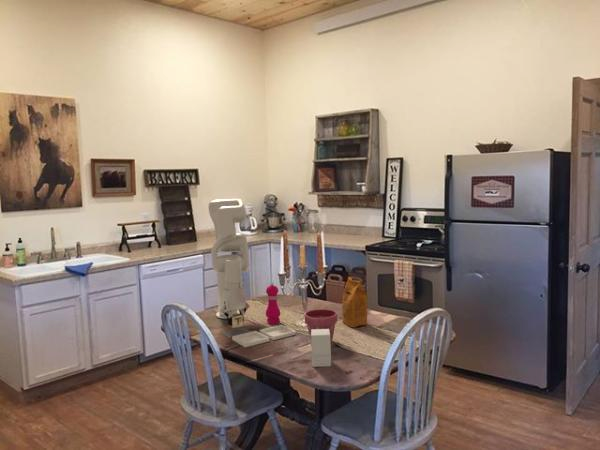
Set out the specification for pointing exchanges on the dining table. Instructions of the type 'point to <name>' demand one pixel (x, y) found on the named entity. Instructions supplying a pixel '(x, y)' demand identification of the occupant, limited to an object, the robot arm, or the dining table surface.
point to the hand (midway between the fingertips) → (235, 323)
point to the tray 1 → (250, 338)
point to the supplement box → (320, 347)
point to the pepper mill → (272, 305)
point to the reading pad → (235, 332)
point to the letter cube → (237, 320)
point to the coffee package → (354, 304)
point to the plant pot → (321, 320)
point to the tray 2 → (277, 332)
